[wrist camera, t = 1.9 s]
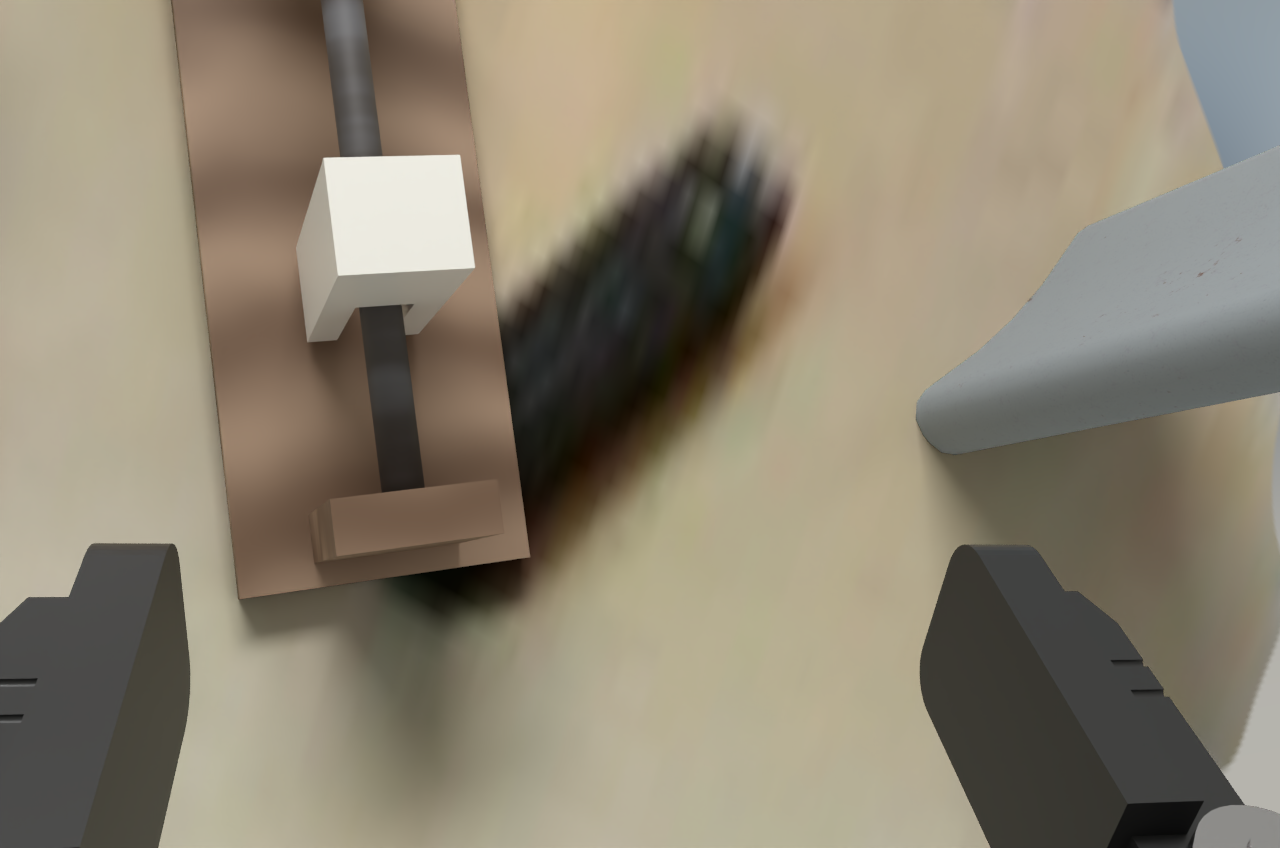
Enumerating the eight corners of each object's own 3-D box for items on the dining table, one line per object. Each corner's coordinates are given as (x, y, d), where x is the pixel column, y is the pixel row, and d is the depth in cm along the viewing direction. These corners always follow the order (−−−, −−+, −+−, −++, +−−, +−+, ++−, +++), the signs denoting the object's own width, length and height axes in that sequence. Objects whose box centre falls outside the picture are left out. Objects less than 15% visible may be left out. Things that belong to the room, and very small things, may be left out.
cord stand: (521, 558, 54) (586, 549, 45) (238, 599, 50) (249, 598, 41) (430, -124, 57) (474, -256, 48) (155, -140, 53) (149, -289, 44)
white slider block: (418, 333, 52) (475, 267, 42) (307, 342, 50) (337, 275, 40) (406, 242, 52) (459, 154, 42) (295, 247, 51) (323, 157, 40)
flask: (959, 480, 63) (1412, 407, 40) (904, 411, 62) (1331, 297, 39) (1144, 278, 69) (1631, 113, 46) (1095, 214, 68) (1564, 14, 45)
